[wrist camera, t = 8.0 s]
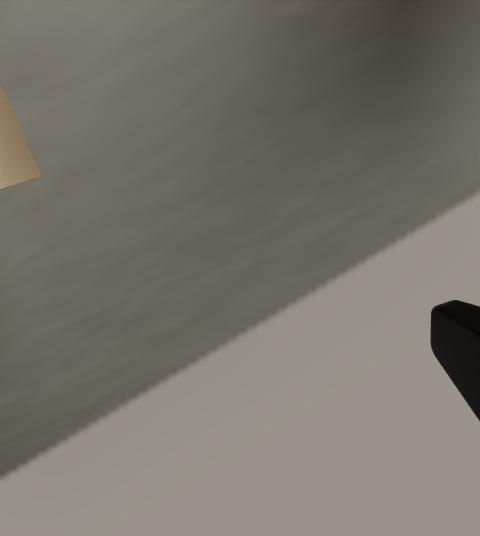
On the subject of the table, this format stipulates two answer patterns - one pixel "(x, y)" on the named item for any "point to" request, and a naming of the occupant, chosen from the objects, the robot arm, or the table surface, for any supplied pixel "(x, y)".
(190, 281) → the table surface
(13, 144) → the oak slab
